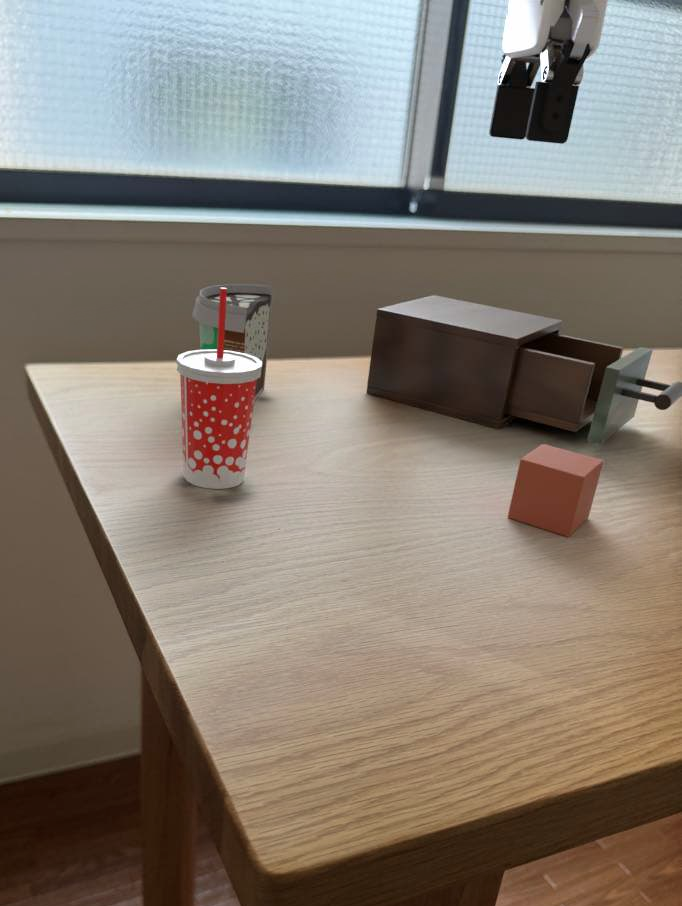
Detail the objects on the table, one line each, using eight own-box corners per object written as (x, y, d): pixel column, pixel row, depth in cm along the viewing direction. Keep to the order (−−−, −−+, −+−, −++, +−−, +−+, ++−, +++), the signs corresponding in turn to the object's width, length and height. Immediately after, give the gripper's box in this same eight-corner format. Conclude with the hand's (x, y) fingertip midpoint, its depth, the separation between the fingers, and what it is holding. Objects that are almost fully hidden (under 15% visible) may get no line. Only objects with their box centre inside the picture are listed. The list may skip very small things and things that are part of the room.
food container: (209, 377, 88) (213, 278, 84) (267, 385, 87) (274, 285, 83) (172, 412, 77) (175, 300, 73) (238, 421, 76) (244, 308, 72)
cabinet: (544, 402, 90) (563, 320, 86) (498, 429, 80) (517, 338, 77) (421, 371, 97) (433, 295, 93) (365, 393, 88) (377, 308, 84)
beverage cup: (269, 485, 64) (284, 295, 58) (196, 498, 61) (204, 298, 54) (229, 457, 68) (239, 278, 62) (159, 468, 65) (163, 280, 59)
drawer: (679, 428, 82) (700, 359, 79) (649, 457, 74) (672, 381, 71) (505, 385, 91) (519, 322, 88) (461, 407, 83) (474, 338, 80)
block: (588, 517, 63) (604, 460, 61) (568, 537, 60) (584, 477, 58) (529, 499, 66) (542, 443, 64) (507, 517, 62) (520, 458, 60)
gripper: (680, -140, 55) (611, 148, 63) (579, -86, 71) (533, 140, 78) (570, -154, 55) (513, 139, 62) (491, -97, 70) (454, 133, 78)
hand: (525, 139), depth 70 cm, fingers open, 9 cm apart
